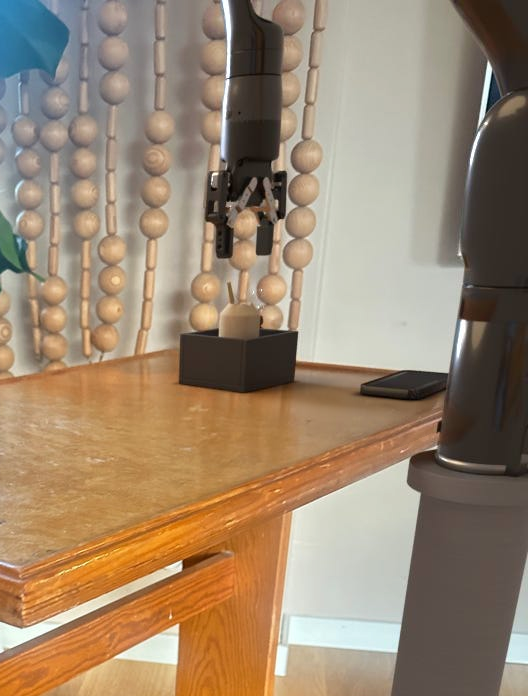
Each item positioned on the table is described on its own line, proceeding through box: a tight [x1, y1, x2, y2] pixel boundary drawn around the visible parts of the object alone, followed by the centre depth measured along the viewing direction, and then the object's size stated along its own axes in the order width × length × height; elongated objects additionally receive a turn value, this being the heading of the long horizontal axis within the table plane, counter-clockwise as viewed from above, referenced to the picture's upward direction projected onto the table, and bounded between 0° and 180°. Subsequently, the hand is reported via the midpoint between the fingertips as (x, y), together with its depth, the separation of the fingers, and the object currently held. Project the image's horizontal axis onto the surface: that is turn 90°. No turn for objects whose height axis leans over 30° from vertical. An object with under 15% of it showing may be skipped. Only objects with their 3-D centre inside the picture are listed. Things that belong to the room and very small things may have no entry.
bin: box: [178, 327, 299, 394], centre depth 130 cm, size 12×12×7 cm
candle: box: [218, 301, 261, 339], centre depth 128 cm, size 6×6×10 cm
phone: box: [359, 369, 449, 400], centre depth 122 cm, size 8×1×15 cm
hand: (244, 256), depth 124 cm, fingers open, 8 cm apart
